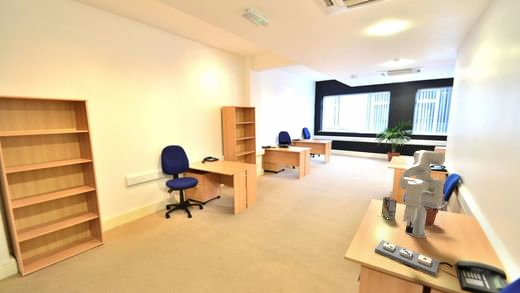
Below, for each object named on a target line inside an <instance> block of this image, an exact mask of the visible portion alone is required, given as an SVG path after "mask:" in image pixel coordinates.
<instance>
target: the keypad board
mask: <svg viewBox="0 0 520 293" xmlns="http://www.w3.org/2000/svg"><path fill="white" fill-rule="evenodd" d="M385 242H388V243H390V244H393V245H396V248H395V249H394V251H390V250H388V249H385V248H383V245H384V244H385ZM402 248H404V249H407V250H409V251H412V252H413V255H412V257H411V258H408V257H405V256H403V255H400V250H401V249H402ZM374 252H375V253H378V254H380V255H383V256H385V257H388V258H391V259H393V260H395V261H397V262H399V263H402V264H404V265H407V266H409V265H410V267H412V268H414V269H416V270H418V271H422V272H424V273H427V274H429V275H431V276H433V277H436V276H437V272H438V270H439V266H440V261H441V260H438V259H434V258H432V257H429V256H427V255H424V254H422V253H419V252H416V251H413V250H411V249H408V248H405V247H403V246H401V245H397V244H394V243H391V242H389V241H386V240H385V239H382V240H381V241H380V242H379V243H378V244H377V245H376V247H375V248H374ZM419 255H423V256H425V257H428V258H431V259H432V262H431V264H430V266H428V265H426V264H423V263H421V262H418V257H419Z"/></svg>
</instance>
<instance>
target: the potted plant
mask: <svg viewBox="0 0 520 293" xmlns="http://www.w3.org/2000/svg"><path fill="white" fill-rule="evenodd" d="M427 193H432V194H434V192H432V191H427ZM423 207H424V208H425V210H426V221H425V226H426V225H427V226H433V225H434V224H435V220H436V218H437V214H438V213H439V209H440V208H431V207H427V206H423Z"/></svg>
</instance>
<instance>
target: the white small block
mask: <svg viewBox="0 0 520 293" xmlns="http://www.w3.org/2000/svg"><path fill="white" fill-rule="evenodd" d="M404 248H405V247H403V248H402V249H401V250H400V255H403V256H405V257H408V258H411V257H412V255H413V252H412V251H413V250H411V251H409V250H410V249H408V248H406V249H404ZM407 249H408V250H407Z"/></svg>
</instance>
